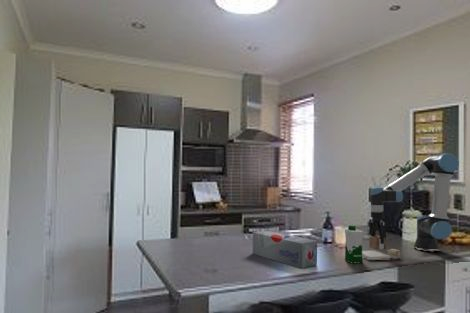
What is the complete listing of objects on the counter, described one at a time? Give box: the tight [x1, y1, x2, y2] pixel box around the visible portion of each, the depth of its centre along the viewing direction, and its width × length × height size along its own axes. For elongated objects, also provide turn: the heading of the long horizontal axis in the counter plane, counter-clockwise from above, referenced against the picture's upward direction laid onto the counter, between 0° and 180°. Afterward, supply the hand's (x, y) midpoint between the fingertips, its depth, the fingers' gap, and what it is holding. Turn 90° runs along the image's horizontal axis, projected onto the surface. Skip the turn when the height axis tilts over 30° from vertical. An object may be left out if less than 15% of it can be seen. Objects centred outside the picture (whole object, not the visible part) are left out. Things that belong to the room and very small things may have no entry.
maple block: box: [386, 248, 401, 257], centre depth 216 cm, size 5×5×5 cm
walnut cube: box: [368, 235, 387, 251], centre depth 229 cm, size 7×7×7 cm
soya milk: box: [344, 225, 365, 264], centre depth 206 cm, size 9×9×20 cm
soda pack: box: [252, 230, 318, 269], centre depth 207 cm, size 41×13×14 cm, turn 38°
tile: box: [362, 249, 391, 259], centre depth 216 cm, size 14×14×2 cm
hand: (377, 247), depth 229 cm, fingers closed on walnut cube, 7 cm apart
